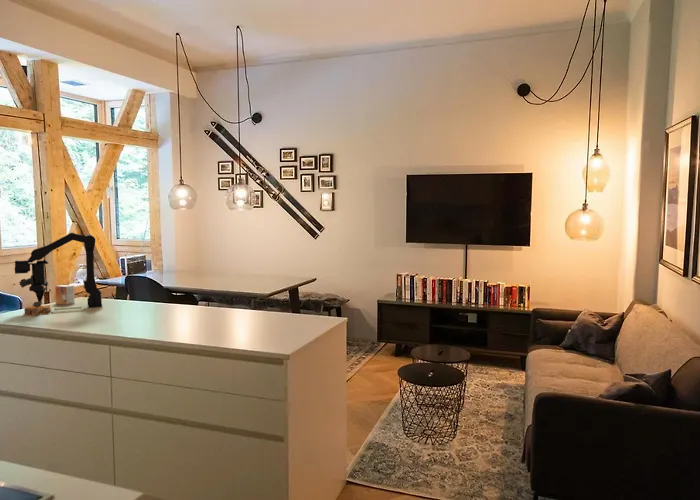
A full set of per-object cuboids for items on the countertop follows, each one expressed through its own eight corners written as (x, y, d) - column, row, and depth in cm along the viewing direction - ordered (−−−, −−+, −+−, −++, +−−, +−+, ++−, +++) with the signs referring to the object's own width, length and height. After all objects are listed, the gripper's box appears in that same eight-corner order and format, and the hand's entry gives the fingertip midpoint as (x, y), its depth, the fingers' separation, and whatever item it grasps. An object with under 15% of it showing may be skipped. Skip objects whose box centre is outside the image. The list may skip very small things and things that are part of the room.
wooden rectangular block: (50, 311, 262) (50, 304, 262) (49, 312, 259) (49, 305, 259) (26, 312, 258) (25, 305, 258) (24, 314, 255) (24, 307, 254)
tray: (83, 308, 272) (83, 306, 271) (82, 312, 262) (82, 309, 262) (53, 310, 266) (53, 308, 266) (51, 314, 257) (51, 311, 257)
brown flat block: (53, 310, 266) (52, 303, 266) (49, 315, 253) (48, 308, 253) (26, 312, 262) (26, 304, 261) (21, 317, 248) (20, 309, 248)
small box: (55, 304, 284) (54, 286, 283) (63, 302, 289) (63, 284, 288) (66, 305, 282) (66, 286, 281) (75, 303, 287) (74, 285, 286)
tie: (41, 304, 261) (41, 301, 261) (39, 306, 255) (39, 303, 255) (35, 304, 260) (34, 301, 260) (33, 306, 254) (32, 303, 254)
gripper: (23, 271, 269) (25, 300, 270) (16, 275, 252) (18, 306, 253) (47, 270, 273) (49, 298, 274) (42, 274, 256) (43, 304, 257)
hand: (39, 301), depth 265 cm, fingers closed
